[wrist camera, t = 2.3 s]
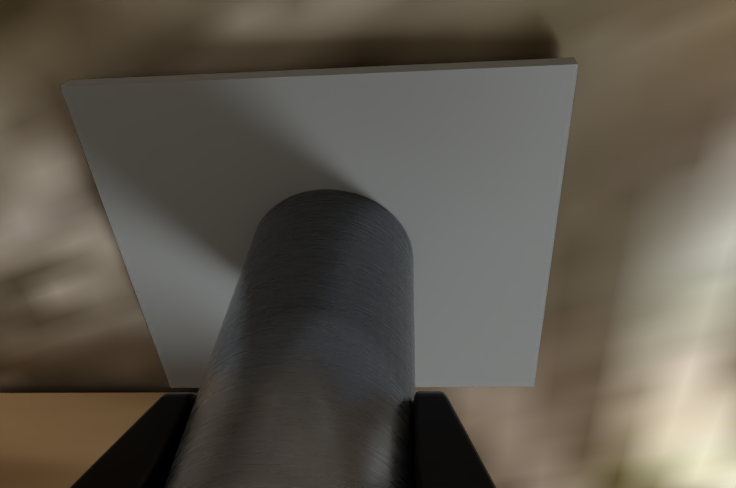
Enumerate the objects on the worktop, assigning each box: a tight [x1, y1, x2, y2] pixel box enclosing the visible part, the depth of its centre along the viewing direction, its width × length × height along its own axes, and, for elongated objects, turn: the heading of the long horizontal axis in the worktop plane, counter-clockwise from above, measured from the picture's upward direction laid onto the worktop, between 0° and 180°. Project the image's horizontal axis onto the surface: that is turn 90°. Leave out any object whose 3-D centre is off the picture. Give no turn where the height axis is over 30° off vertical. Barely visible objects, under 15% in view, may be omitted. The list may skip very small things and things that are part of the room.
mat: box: [60, 58, 578, 388], centre depth 11 cm, size 7×8×1 cm
